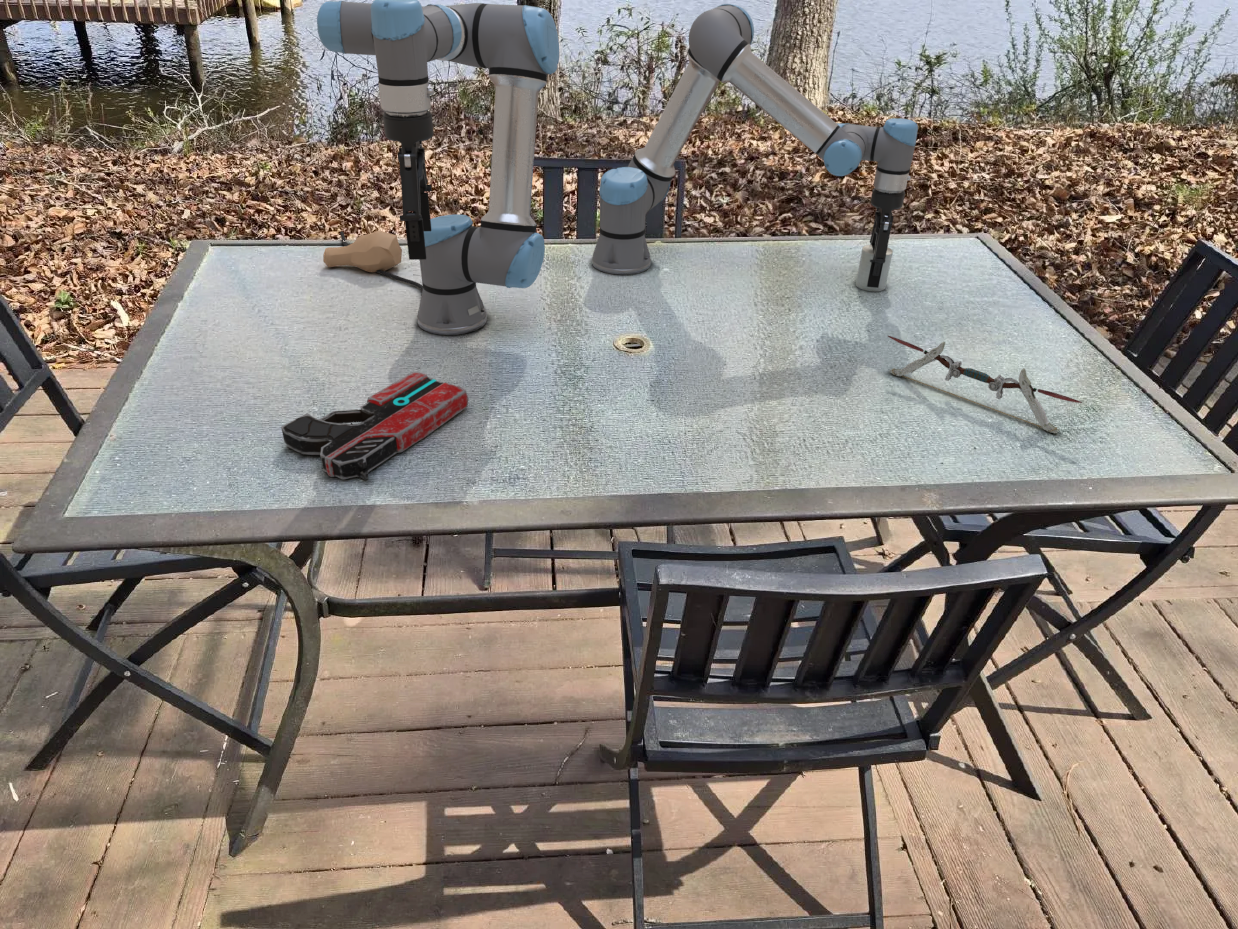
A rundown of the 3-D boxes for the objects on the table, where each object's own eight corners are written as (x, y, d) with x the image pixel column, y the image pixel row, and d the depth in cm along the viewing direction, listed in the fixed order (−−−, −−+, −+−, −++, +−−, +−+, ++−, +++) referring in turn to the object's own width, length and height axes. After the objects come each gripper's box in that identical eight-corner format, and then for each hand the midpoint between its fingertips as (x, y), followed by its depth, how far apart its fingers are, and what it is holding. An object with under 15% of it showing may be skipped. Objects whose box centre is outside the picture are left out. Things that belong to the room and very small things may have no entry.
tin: (884, 293, 217) (892, 256, 212) (854, 289, 219) (861, 252, 214) (885, 282, 223) (893, 246, 218) (856, 278, 225) (863, 243, 219)
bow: (1071, 436, 162) (1088, 388, 156) (1067, 439, 161) (1085, 392, 155) (883, 367, 183) (892, 323, 178) (878, 369, 182) (888, 325, 177)
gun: (267, 431, 148) (351, 468, 140) (394, 358, 170) (473, 387, 162) (272, 453, 151) (354, 490, 143) (397, 379, 173) (474, 408, 165)
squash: (402, 276, 219) (391, 244, 212) (324, 283, 220) (312, 251, 214) (409, 253, 226) (400, 222, 220) (335, 261, 228) (323, 229, 222)
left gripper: (426, 130, 126) (439, 271, 138) (436, 94, 146) (446, 219, 158) (372, 130, 125) (390, 272, 137) (390, 94, 146) (404, 220, 157)
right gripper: (910, 203, 199) (890, 297, 211) (901, 178, 215) (883, 267, 228) (876, 200, 200) (858, 294, 212) (870, 176, 216) (854, 264, 229)
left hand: (420, 244), depth 148 cm, fingers open, 13 cm apart
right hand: (871, 280), depth 220 cm, fingers closed on tin, 7 cm apart
